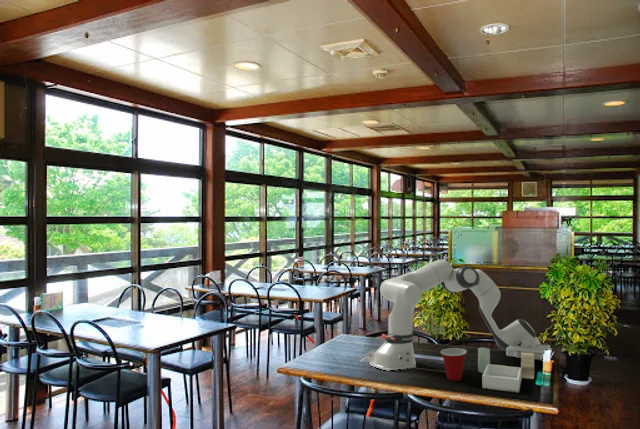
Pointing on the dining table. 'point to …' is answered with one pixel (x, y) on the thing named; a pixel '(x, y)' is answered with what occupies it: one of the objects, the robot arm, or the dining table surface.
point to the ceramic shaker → (483, 359)
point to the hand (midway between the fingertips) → (528, 357)
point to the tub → (502, 378)
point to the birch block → (527, 365)
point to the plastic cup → (454, 362)
